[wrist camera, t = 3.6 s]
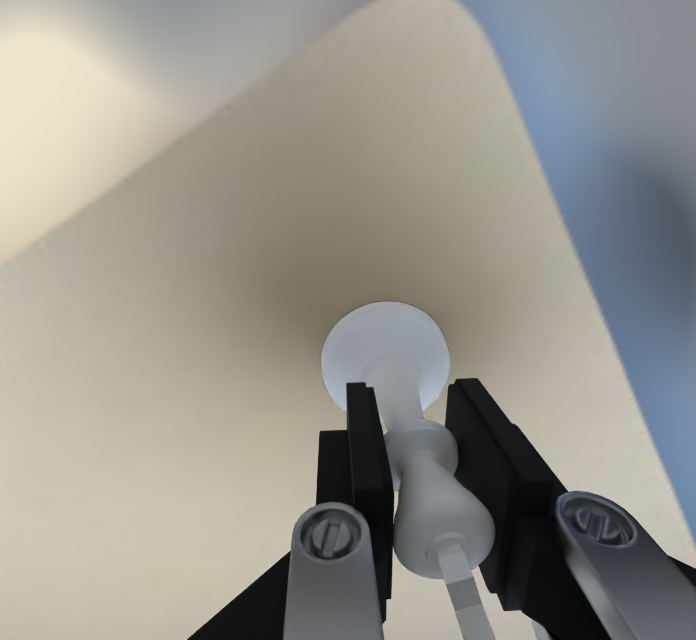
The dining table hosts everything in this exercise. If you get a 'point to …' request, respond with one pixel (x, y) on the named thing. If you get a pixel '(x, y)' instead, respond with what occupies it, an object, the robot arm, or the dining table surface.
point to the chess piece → (416, 447)
